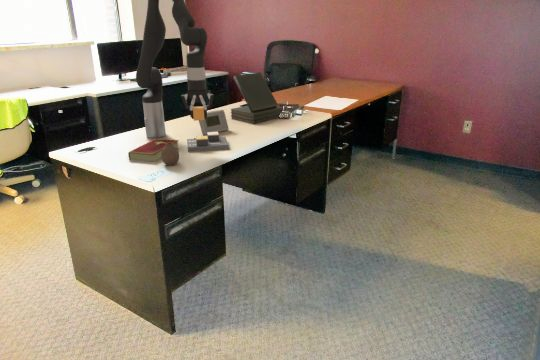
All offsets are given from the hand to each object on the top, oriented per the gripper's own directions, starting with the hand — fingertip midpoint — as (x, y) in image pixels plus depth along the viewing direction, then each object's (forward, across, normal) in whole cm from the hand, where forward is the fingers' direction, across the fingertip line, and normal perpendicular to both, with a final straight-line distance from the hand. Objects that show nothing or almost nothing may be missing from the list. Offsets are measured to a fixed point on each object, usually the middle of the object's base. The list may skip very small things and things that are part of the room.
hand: (198, 118), depth 180 cm
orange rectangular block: (0, 0, 0) cm, 0 cm away
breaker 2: (+12, +6, +8) cm, 16 cm away
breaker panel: (+15, +3, +6) cm, 16 cm away
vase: (+15, -12, -16) cm, 25 cm away
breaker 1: (+12, +1, +2) cm, 13 cm away
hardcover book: (+16, -20, 0) cm, 25 cm away
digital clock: (+15, +8, +30) cm, 34 cm away
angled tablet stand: (+15, +34, +57) cm, 68 cm away
